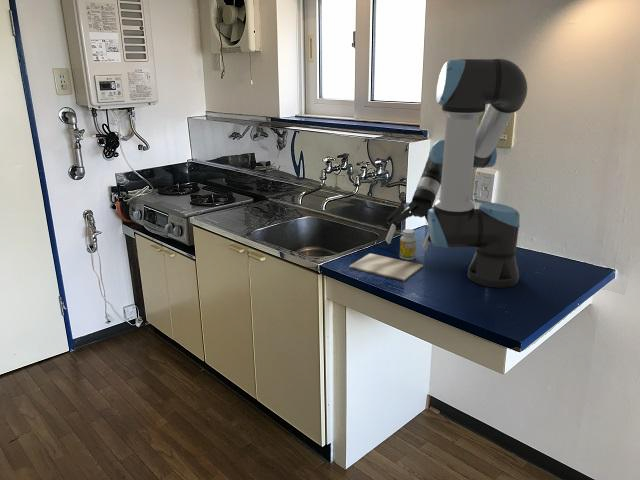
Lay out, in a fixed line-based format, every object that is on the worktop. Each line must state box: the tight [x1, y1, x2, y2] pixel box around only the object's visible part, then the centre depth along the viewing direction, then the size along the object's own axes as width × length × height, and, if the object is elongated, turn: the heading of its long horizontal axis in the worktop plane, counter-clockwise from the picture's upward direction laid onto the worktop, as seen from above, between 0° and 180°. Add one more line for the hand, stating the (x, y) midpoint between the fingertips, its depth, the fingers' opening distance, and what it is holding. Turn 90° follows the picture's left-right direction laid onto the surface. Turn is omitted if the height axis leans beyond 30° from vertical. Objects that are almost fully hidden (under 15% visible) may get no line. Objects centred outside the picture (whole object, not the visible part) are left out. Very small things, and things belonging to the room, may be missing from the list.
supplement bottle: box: [399, 228, 417, 261], centre depth 178 cm, size 5×5×10 cm
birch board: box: [348, 253, 424, 282], centre depth 171 cm, size 20×14×1 cm
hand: (405, 245), depth 176 cm, fingers open, 13 cm apart
